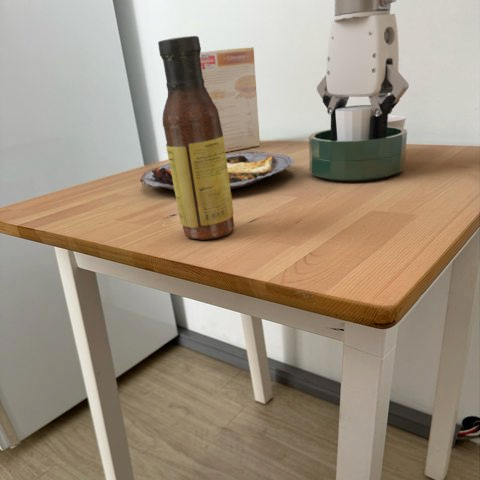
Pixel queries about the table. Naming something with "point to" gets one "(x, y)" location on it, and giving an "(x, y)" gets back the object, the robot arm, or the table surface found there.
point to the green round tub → (357, 156)
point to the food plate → (230, 169)
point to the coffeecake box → (233, 94)
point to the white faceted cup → (353, 122)
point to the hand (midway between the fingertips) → (357, 141)
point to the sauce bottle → (195, 143)
